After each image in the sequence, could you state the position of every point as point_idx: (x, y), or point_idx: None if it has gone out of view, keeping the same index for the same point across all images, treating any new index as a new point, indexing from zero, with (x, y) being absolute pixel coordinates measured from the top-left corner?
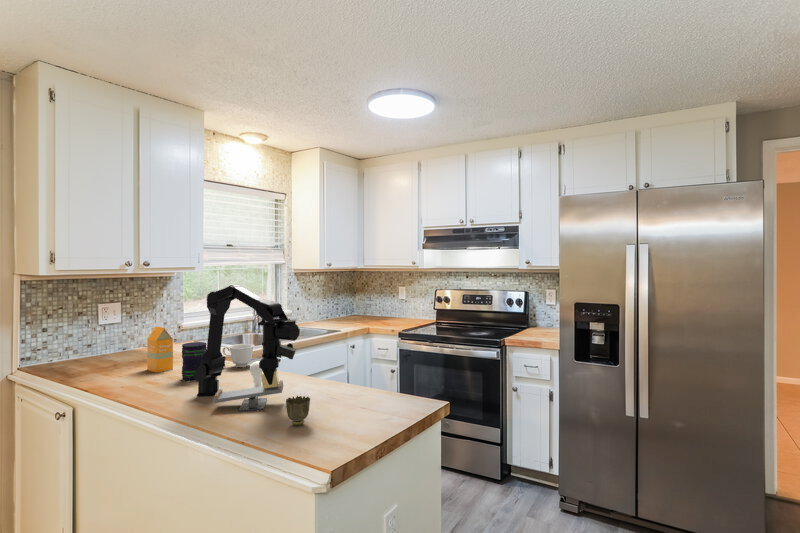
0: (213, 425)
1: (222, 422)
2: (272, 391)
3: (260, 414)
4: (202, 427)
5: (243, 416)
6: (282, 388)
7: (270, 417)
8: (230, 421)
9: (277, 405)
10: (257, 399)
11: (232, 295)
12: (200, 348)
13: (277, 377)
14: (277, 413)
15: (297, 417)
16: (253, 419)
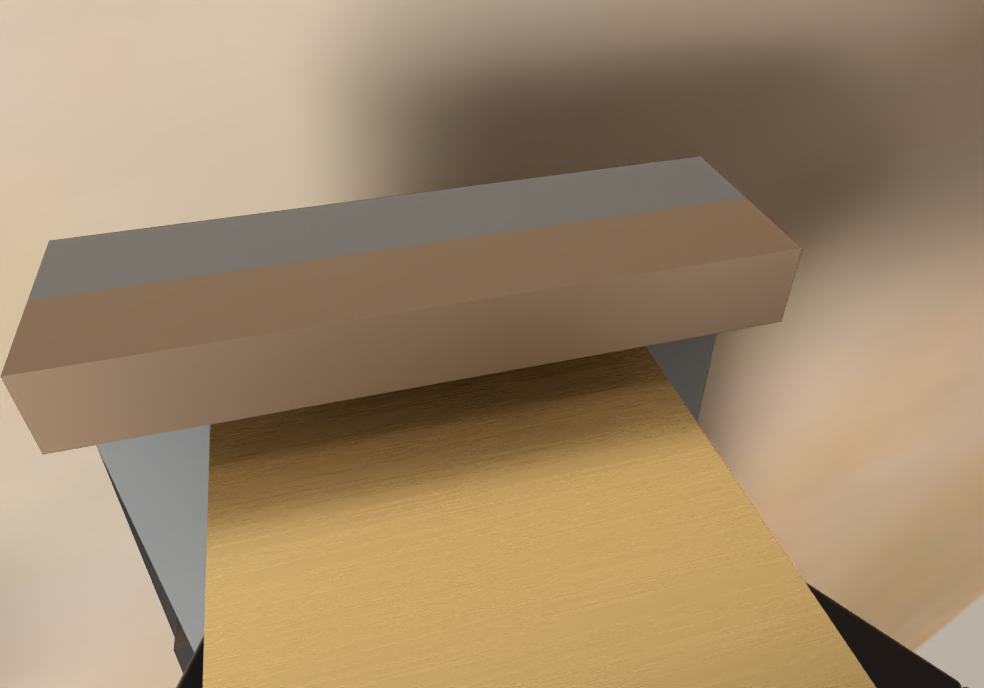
0: (922, 592)
1: (884, 564)
2: (692, 375)
3: (798, 314)
4: (927, 636)
5: (795, 465)
6: (414, 209)
7: (962, 159)
8: (888, 518)
9: (447, 170)
10: None
11: None
12: None
13: (479, 564)
14: (846, 90)
15: None
16: (934, 340)
